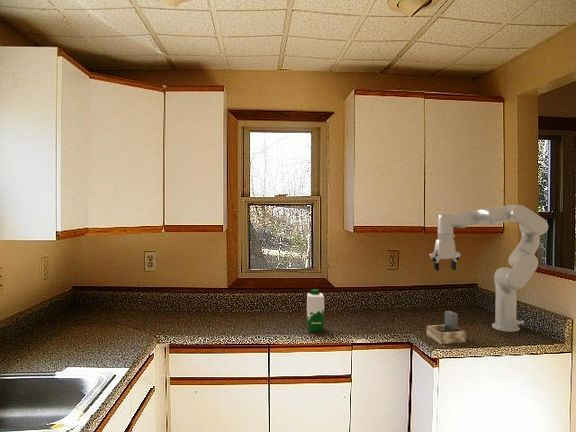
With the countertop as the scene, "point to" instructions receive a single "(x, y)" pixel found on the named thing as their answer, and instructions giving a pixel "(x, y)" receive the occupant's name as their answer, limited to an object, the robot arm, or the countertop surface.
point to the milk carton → (315, 310)
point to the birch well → (445, 335)
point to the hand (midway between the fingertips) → (445, 269)
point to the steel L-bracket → (451, 322)
